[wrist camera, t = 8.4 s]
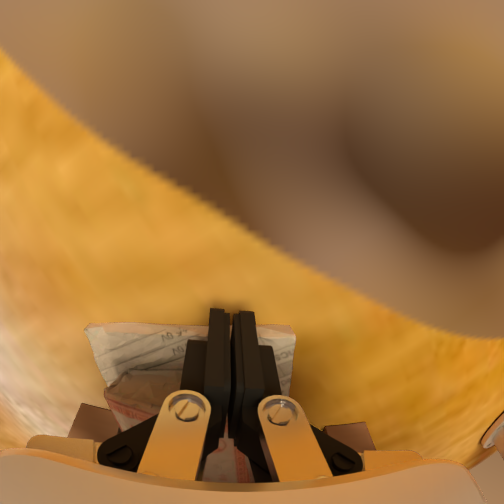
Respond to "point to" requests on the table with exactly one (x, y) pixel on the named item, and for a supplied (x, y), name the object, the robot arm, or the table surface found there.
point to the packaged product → (171, 376)
